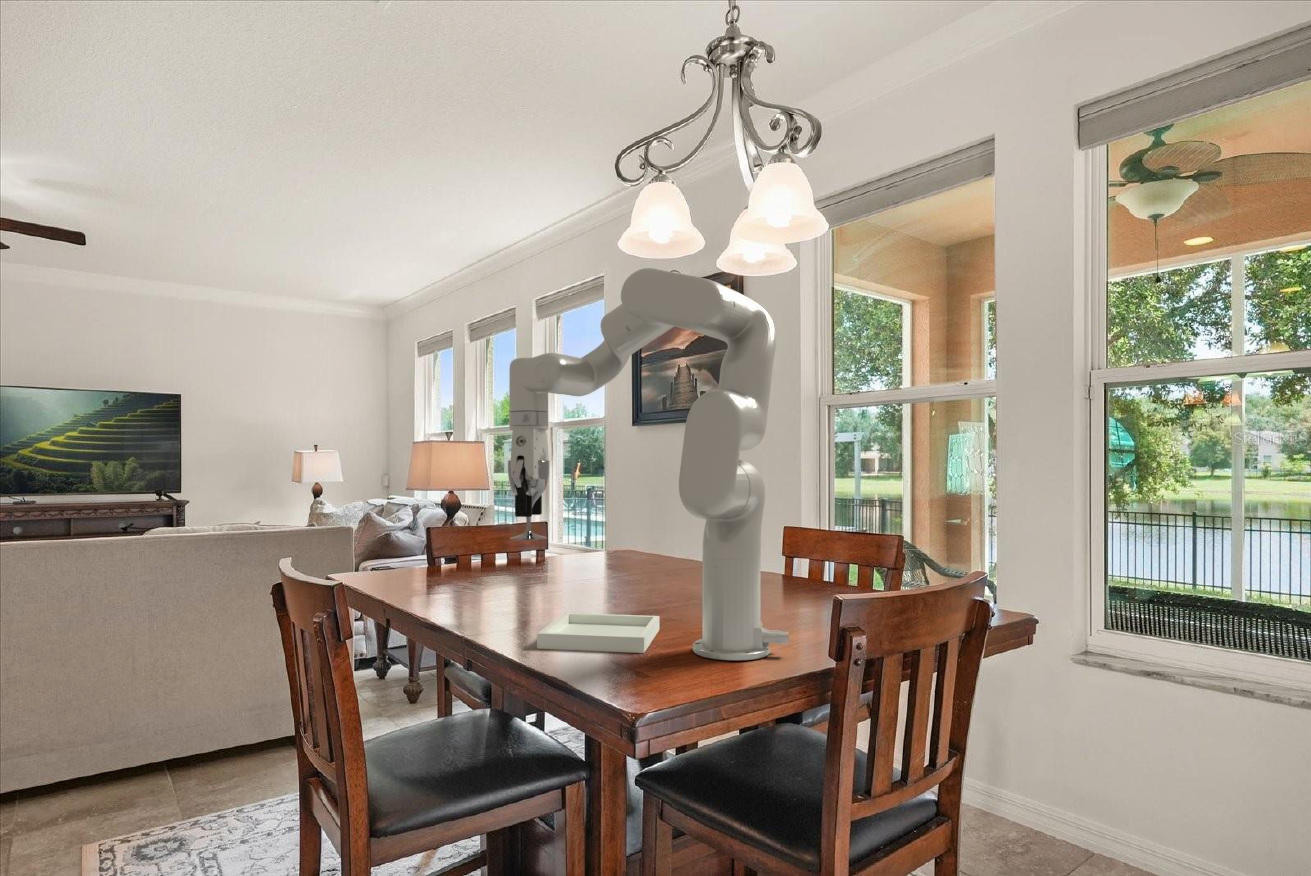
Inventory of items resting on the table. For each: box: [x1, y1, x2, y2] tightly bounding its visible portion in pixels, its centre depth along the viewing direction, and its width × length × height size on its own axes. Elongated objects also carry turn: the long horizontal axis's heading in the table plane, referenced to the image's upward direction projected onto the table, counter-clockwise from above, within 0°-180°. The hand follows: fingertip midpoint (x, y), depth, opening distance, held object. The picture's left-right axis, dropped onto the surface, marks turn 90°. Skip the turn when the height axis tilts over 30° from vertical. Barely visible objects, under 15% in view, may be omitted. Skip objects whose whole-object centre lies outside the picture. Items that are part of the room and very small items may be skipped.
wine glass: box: [507, 459, 550, 541], centre depth 147 cm, size 8×8×15 cm
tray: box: [536, 612, 660, 654], centre depth 134 cm, size 18×18×2 cm
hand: (528, 514), depth 147 cm, fingers closed on wine glass, 5 cm apart
